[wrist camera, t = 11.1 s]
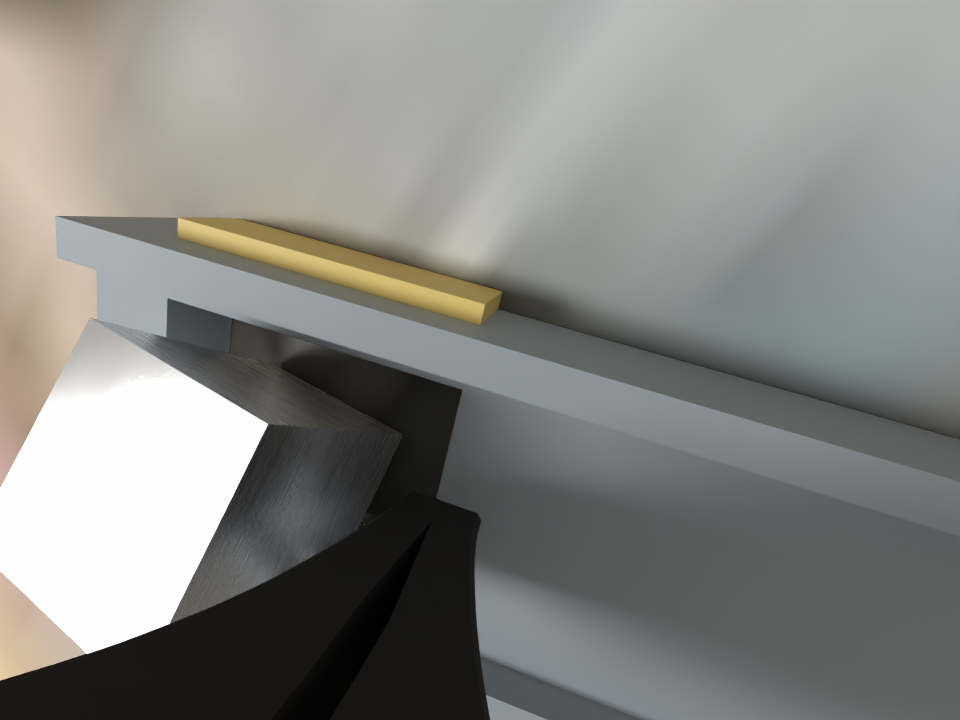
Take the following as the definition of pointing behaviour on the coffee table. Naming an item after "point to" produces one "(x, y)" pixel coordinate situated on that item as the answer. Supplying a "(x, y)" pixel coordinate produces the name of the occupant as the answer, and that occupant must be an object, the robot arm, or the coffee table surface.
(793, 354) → the coffee table surface
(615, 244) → the coffee table surface
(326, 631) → the robot arm
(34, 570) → the block
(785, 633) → the rail
